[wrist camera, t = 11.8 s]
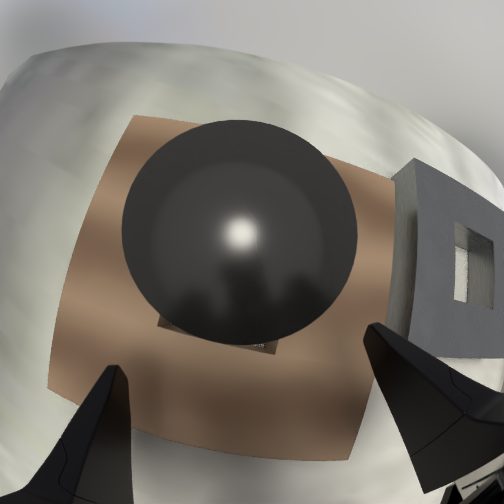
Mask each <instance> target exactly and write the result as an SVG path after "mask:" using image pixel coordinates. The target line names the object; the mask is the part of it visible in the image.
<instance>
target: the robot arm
mask: <svg viewBox="0 0 504 504" xmlns="http://www.w3.org/2000/svg"><path fill="white" fill-rule="evenodd" d="M363 344H364V347H365V350H366V353H367V356H368V358H369V361H370V364H371V367H372V370H373V373H374V376H375V378H376V380H377V382H378V385H379V387H380V389H381V391H382V393H383V395H384V398H385V400H386V402H387V404H388V406H389V409H390V411H391V413H392V416H393V418H394V420H395V422H396V425H397V427H398V429H399V432H400V434H401V436H402V439H403V441H404V444H405V446H406V449H407V451H408V454H409V456H410V459H411V461H412V464H413V467H414V469H415V472H416V474H417V477H418V480H419V482H420V485H421V488H422V491H423V493H424V494H426V493H428V492H431V491H433V490H436V489H438V488H440V487H443V486H445V485H447V484H449V483H452V482H453V483H452V484H451V485H449V486H448V487H447V488H446V490H445V493H444V495H443V498H442V501H441V503H440V504H504V393H500V392H497V391H494V390H492V389H490V388H488V387H486V386H484V385H482V384H480V383H478V382H476V381H474V380H472V379H470V378H468V377H466V376H465V375H463V374H461V373H460V372H458V371H456V370H455V369H453V368H451V367H449V366H448V365H447V364H445V363H443V362H442V361H440V360H439V359H437V358H435V357H434V356H432V355H431V354H429V353H428V352H426V351H424V350H423V349H421V348H420V347H418V346H416V345H415V344H413V343H412V342H410V341H408V340H407V339H405V338H404V337H402V336H400V335H399V334H397V333H396V332H394V331H392V330H391V329H389V328H388V327H386V326H384V325H383V324H381V323H379V322H375V323H371V324H369V325H368V326H367V329H366V332H365V334H364V337H363ZM0 504H134V501H133V488H132V469H131V412H130V399H129V383H128V378H127V376H126V375H125V373H124V372H123V370H122V369H121V367H120V366H119V365H117V364H116V365H108V366H107V367H106V368H105V370H104V371H103V372H102V374H101V375H100V377H99V378H98V380H97V381H96V383H95V384H94V386H93V387H92V389H91V390H90V392H89V393H88V395H87V396H86V398H85V399H84V401H83V402H82V404H81V405H80V407H79V408H78V410H77V412H76V413H75V415H74V416H73V418H72V419H71V421H70V423H69V424H68V426H67V427H66V429H65V431H64V432H63V434H62V435H61V438H60V439H59V440H58V442H57V444H56V445H55V447H54V448H53V450H52V451H51V453H50V455H49V456H48V457H47V459H46V460H45V462H44V463H43V464H42V466H41V467H40V468H39V470H38V471H37V472H36V474H35V475H34V476H33V478H32V479H31V480H30V482H29V483H28V484H27V485H26V486H25V487H24V488H22V489H20V490H18V491H16V492H13V493H10V494H8V495H5V496H2V497H0Z"/></svg>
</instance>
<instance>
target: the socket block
mask: <svg viewBox="0 0 504 504" xmlns="http://www.w3.org/2000/svg"><path fill="white" fill-rule="evenodd" d="M392 180H393V181H395V226H394V247H393V261H392V272H391V282H390V291H389V299H388V306H387V313H386V320H385V326H386V327H388V328H389V329H391V330H392V331H394V332H396V333H397V334H399V335H400V336H402V337H404V338H405V339H407V340H408V341H410V342H412V343H413V344H415V345H416V346H418V347H420V348H421V349H423V350H424V351H426V352H428V353H429V354H431V355H432V356H434V357H450V358H504V212H503V211H502V210H501V209H499V208H498V207H496V206H495V205H494V204H492V203H491V202H489V201H488V200H486V199H485V198H483V197H482V196H480V195H479V194H477V193H476V192H474V191H472V190H471V189H469V188H468V187H466V186H464V185H463V184H461V183H460V182H458V181H456V180H454V179H453V178H451V177H449V176H448V175H446V174H444V173H442V172H440V171H439V170H437V169H435V168H433V167H431V166H429V165H427V164H425V163H424V162H422V161H420V160H418V159H416V158H413V159H412V160H411V161H410V162H409V163H408V164H406V165H405V166H404V167H403V168H402V169H401V170H400V171H399V172H397V173H396V174H395V175H394V176H393V177H392ZM455 245H456V246H458V247H461V248H463V249H465V250H468V293H467V303H465V302H461V301H457V300H454V286H455Z"/></svg>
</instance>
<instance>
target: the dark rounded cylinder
mask: <svg viewBox="0 0 504 504" xmlns="http://www.w3.org/2000/svg"><path fill="white" fill-rule="evenodd" d="M121 232H122V246H123V251H124V256H125V260H126V263H127V266H128V269H129V271H130V274H131V276H132V278H133V280H134V282H135V284H136V286H137V288H138V289H139V291H140V292H141V293H142V295H143V296H144V298H145V299H146V300H147V302H148V303H149V304H150V305H151V306H152V307H153V308H154V309H155V310H156V311H157V312H158V313H159V314H160V315H161V316H162V317H164V318H165V319H166V320H168V321H169V322H170V323H172V324H173V325H174V326H176V327H178V328H180V329H182V330H183V331H185V332H187V333H189V334H191V335H194V336H197V337H199V338H202V339H205V340H208V341H212V342H217V343H221V344H230V345H254V344H262V343H267V342H271V341H276V340H279V339H281V338H284V337H287V336H290V335H292V334H294V333H296V332H298V331H300V330H301V329H303V328H305V327H307V326H308V325H310V324H311V323H312V322H314V321H315V320H316V319H318V318H319V317H320V316H321V315H322V314H323V313H324V312H325V311H326V310H327V309H328V308H329V307H330V306H331V305H332V304H333V303H334V301H335V300H336V299H337V297H338V296H339V295H340V293H341V291H342V290H343V288H344V286H345V284H346V282H347V280H348V278H349V276H350V273H351V270H352V268H353V265H354V260H355V256H356V251H357V240H358V231H357V219H356V214H355V209H354V205H353V202H352V199H351V196H350V194H349V191H348V189H347V187H346V185H345V183H344V181H343V179H342V178H341V176H340V175H339V173H338V171H337V170H336V169H335V168H334V166H333V165H332V164H331V163H330V161H329V160H328V159H327V158H326V157H325V156H324V155H323V154H322V153H321V152H320V151H319V150H318V149H316V148H315V147H314V146H313V145H311V144H310V143H309V142H307V141H306V140H304V139H302V138H301V137H299V136H298V135H296V134H294V133H291V132H289V131H287V130H285V129H283V128H280V127H277V126H274V125H271V124H266V123H262V122H257V121H249V120H226V121H217V122H213V123H208V124H204V125H201V126H198V127H195V128H192V129H190V130H188V131H186V132H184V133H182V134H179V135H178V136H176V137H175V138H173V139H171V140H170V141H168V142H167V143H166V144H164V145H163V146H162V147H161V148H159V149H158V150H157V151H156V152H155V153H154V154H153V155H152V156H151V157H150V158H149V159H148V160H147V161H146V163H145V164H144V166H143V167H142V168H141V170H140V171H139V172H138V174H137V176H136V178H135V180H134V181H133V183H132V185H131V187H130V190H129V193H128V195H127V198H126V201H125V206H124V210H123V215H122V227H121Z"/></svg>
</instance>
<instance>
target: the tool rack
mask: <svg viewBox="0 0 504 504" xmlns="http://www.w3.org/2000/svg"><path fill="white" fill-rule="evenodd" d="M201 125H202V124H196V123H191V122H184V121H178V120H171V119H164V118H156V117H147V116H138V115H134V116H133V118H132V119H131V121H130V123H129V125H128V126H127V128H126V130H125V132H124V134H123V135H122V137H121V139H120V141H119V143H118V145H117V147H116V149H115V151H114V153H113V155H112V157H111V159H110V161H109V163H108V165H107V167H106V169H105V171H104V173H103V175H102V178H101V180H100V182H99V184H98V187H97V189H96V191H95V194H94V196H93V198H92V201H91V203H90V206H89V208H88V211H87V214H86V216H85V219H84V222H83V224H82V227H81V230H80V233H79V236H78V239H77V242H76V245H75V248H74V251H73V254H72V257H71V261H70V264H69V268H68V271H67V275H66V279H65V282H64V286H63V290H62V295H61V299H60V303H59V308H58V313H57V318H56V323H55V329H54V335H53V341H52V348H51V355H50V364H49V374H48V386H47V388H48V389H49V390H51V391H53V392H55V393H57V394H58V395H60V396H62V397H64V398H66V399H68V400H70V401H72V402H73V403H75V404H77V405H79V406H80V405H81V404H82V402H83V401H84V399H85V398H86V396H87V395H88V393H89V392H90V390H91V389H92V387H93V386H94V384H95V383H96V381H97V380H98V378H99V377H100V375H101V374H102V372H103V371H104V370H105V368H106V367H107V366H108V365H116V364H117V365H119V366H120V367H121V369H122V370H123V372H124V373H125V375H126V376H127V378H128V383H129V399H130V412H131V428H134V429H137V430H140V431H143V432H146V433H149V434H152V435H155V436H158V437H161V438H165V439H168V440H172V441H175V442H179V443H183V444H187V445H191V446H195V447H200V448H204V449H209V450H214V451H219V452H225V453H231V454H237V455H244V456H251V457H260V458H270V459H282V460H301V461H337V460H348V459H349V456H350V454H351V451H352V448H353V445H354V443H355V440H356V437H357V434H358V431H359V428H360V425H361V422H362V419H363V415H364V412H365V409H366V405H367V402H368V398H369V394H370V391H371V387H372V383H373V379H374V373H373V370H372V367H371V364H370V361H369V358H368V356H367V353H366V350H365V347H364V344H363V337H364V334H365V332H366V329H367V326H368V325H369V324H371V323H375V322H379V323H381V324H383V325H384V326H385V320H386V313H387V306H388V299H389V291H390V282H391V272H392V261H393V247H394V226H395V181H393V180H390V179H388V178H386V177H383V176H381V175H378V174H376V173H373V172H370V171H368V170H365V169H363V168H360V167H357V166H354V165H352V164H349V163H346V162H343V161H340V160H337V159H334V158H331V157H328V156H325V155H324V156H325V157H326V158H327V159H328V160H329V161H330V163H331V164H332V165H333V166H334V168H335V169H336V170H337V171H338V173H339V175H340V176H341V178H342V179H343V181H344V183H345V185H346V187H347V189H348V191H349V194H350V196H351V199H352V202H353V205H354V209H355V214H356V219H357V231H358V240H357V251H356V256H355V260H354V265H353V268H352V270H351V273H350V276H349V278H348V280H347V282H346V284H345V286H344V288H343V290H342V291H341V293H340V295H339V296H338V297H337V299H336V300H335V301H334V303H333V304H332V305H331V306H330V307H329V308H328V309H327V310H326V311H325V312H324V313H323V314H322V315H321V316H320V317H319V318H318V319H316V320H315V321H314V322H312V323H311V324H310V325H308V326H307V327H305V328H303V329H301V330H300V331H298V332H296V333H294V334H292V335H290V336H287V337H284V338H281V339H279V340H276V341H271V342H267V343H265V347H264V348H263V347H258V346H253V345H230V344H221V343H217V342H212V341H208V340H205V339H202V338H199V337H197V336H194V335H191V334H189V333H187V332H185V331H183V330H182V329H180V328H178V327H176V326H173V325H170V322H169V321H168V320H166V319H165V318H164V317H162V316H161V315H160V314H159V313H158V312H157V311H156V310H155V309H154V308H153V307H152V306H151V305H150V304H149V303H148V302H147V300H146V299H145V298H144V296H143V295H142V293H141V292H140V291H139V289H138V288H137V286H136V284H135V282H134V280H133V278H132V276H131V274H130V271H129V269H128V266H127V263H126V260H125V256H124V251H123V246H122V232H121V227H122V215H123V210H124V206H125V201H126V198H127V195H128V193H129V190H130V187H131V185H132V183H133V181H134V180H135V178H136V176H137V174H138V172H139V171H140V170H141V168H142V167H143V166H144V164H145V163H146V161H147V160H148V159H149V158H150V157H151V156H152V155H153V154H154V153H155V152H156V151H157V150H158V149H159V148H161V147H162V146H163V145H164V144H166V143H167V142H168V141H170V140H171V139H173V138H175V137H176V136H178V135H179V134H182V133H184V132H186V131H188V130H190V129H192V128H195V127H198V126H201Z"/></svg>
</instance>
